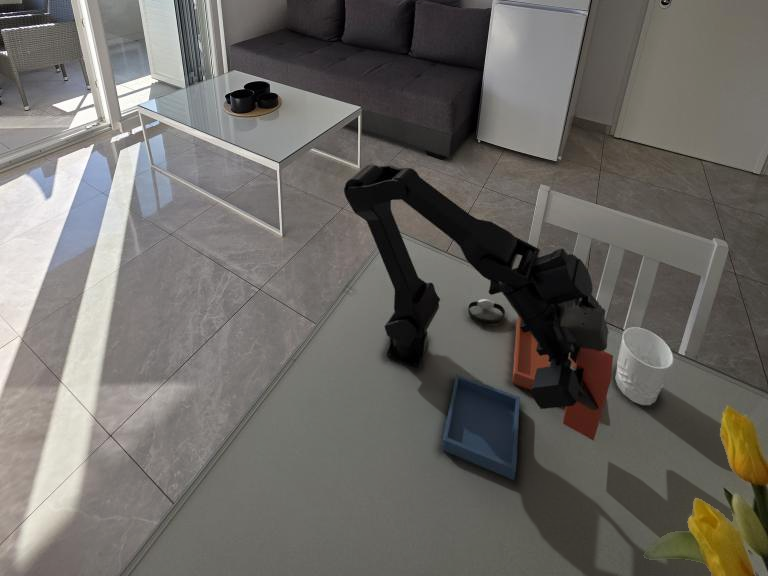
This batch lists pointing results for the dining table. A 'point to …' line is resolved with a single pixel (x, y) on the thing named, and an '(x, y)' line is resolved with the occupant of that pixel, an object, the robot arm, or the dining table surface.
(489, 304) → the watch
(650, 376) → the white cup
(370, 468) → the dining table surface
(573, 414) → the red pillar
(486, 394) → the blue tray
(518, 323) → the red tray
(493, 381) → the dining table surface
